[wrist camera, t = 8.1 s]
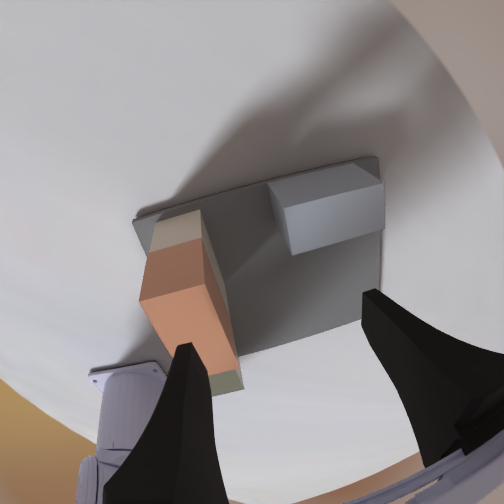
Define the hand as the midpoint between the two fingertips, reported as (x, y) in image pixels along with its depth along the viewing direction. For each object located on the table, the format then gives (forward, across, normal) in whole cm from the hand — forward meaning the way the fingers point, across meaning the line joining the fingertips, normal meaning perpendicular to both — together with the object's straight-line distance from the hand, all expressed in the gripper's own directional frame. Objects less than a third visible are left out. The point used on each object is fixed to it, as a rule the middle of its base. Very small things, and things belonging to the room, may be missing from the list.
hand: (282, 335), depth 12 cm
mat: (+10, -2, +5) cm, 12 cm away
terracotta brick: (+6, +4, +1) cm, 7 cm away
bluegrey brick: (+10, -5, -1) cm, 11 cm away
